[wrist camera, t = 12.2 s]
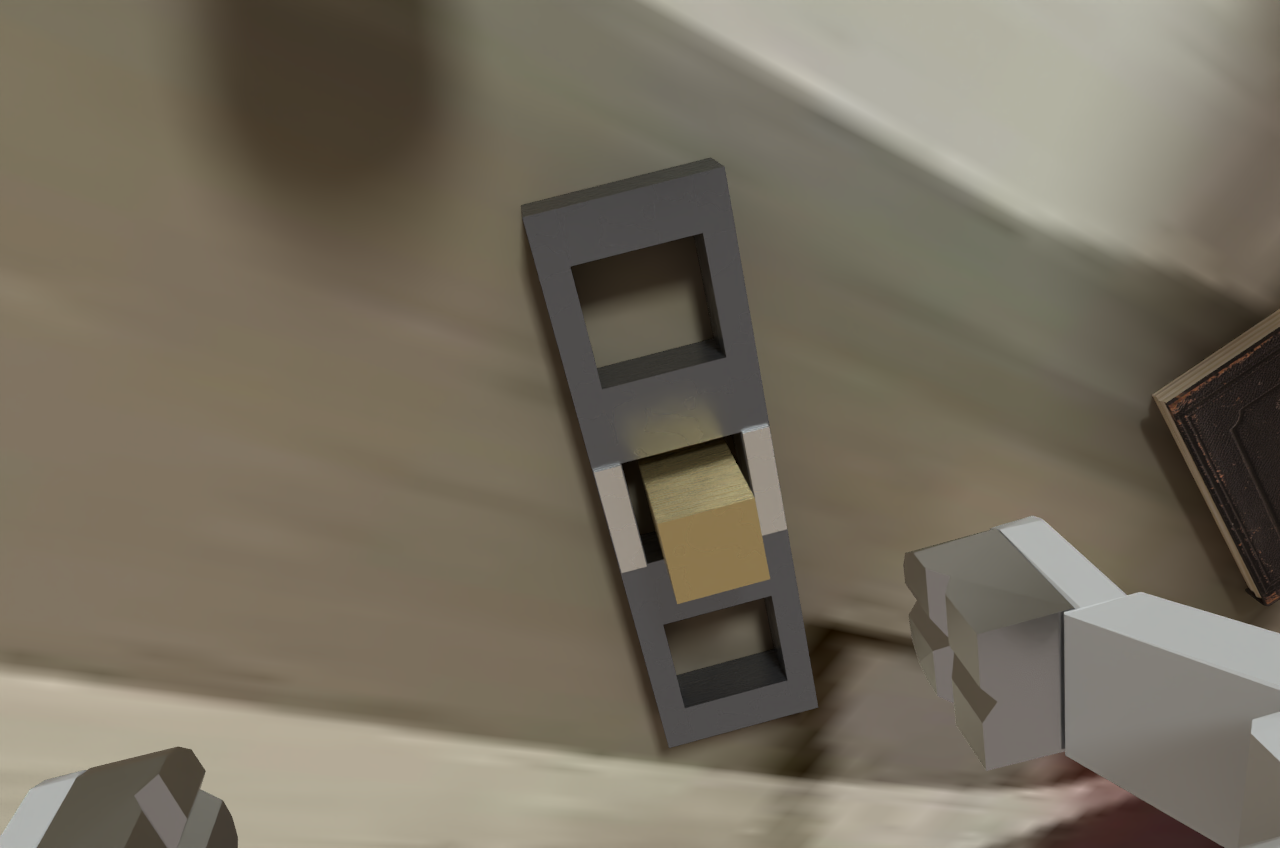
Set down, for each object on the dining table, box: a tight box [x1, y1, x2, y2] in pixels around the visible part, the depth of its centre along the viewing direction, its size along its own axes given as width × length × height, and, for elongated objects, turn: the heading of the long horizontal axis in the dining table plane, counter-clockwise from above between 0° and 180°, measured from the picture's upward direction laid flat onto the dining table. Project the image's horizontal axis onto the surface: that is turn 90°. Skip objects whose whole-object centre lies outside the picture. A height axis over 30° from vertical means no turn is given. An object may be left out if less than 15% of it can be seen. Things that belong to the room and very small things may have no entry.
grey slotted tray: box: [521, 158, 818, 748], centre depth 41 cm, size 8×28×3 cm, turn 13°
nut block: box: [637, 437, 770, 604], centre depth 39 cm, size 4×4×7 cm
